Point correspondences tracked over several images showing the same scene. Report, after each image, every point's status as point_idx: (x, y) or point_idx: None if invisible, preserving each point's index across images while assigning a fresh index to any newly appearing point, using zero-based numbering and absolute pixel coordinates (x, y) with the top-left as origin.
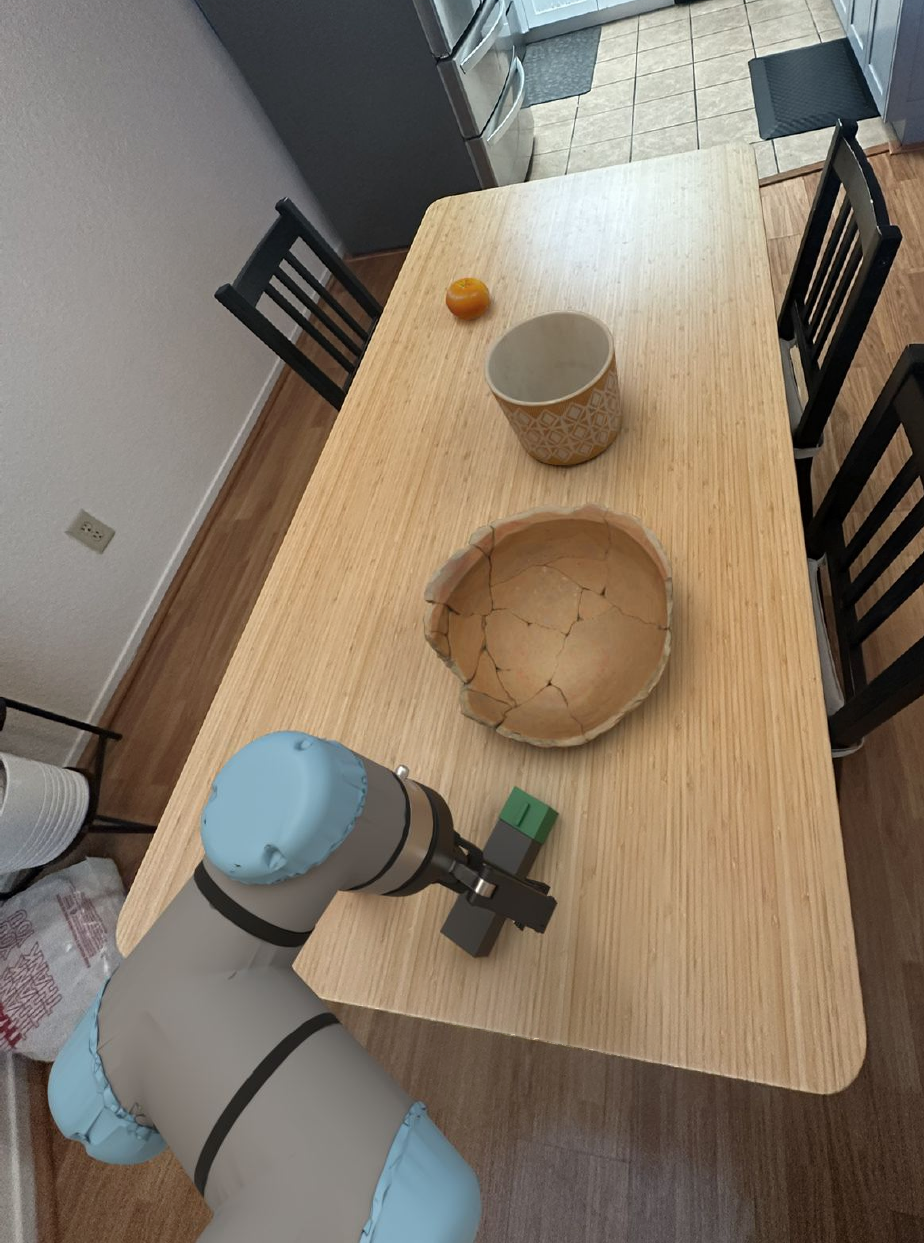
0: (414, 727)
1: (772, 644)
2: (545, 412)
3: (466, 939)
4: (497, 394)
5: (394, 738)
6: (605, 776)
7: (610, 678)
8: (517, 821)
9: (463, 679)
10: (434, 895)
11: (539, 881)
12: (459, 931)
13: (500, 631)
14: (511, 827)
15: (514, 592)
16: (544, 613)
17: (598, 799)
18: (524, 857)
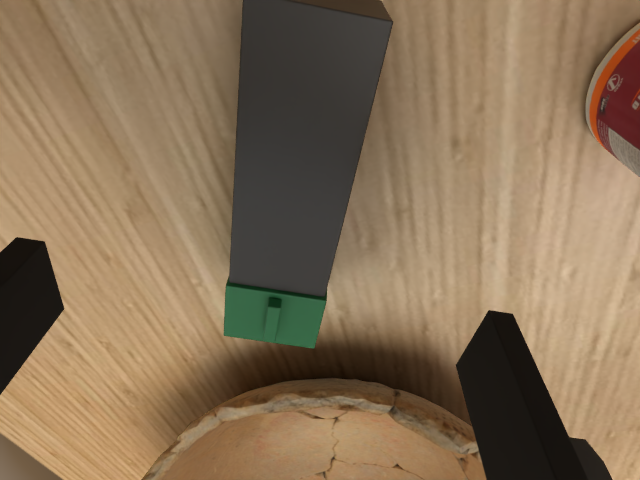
0: (589, 326)
1: (77, 463)
2: None
3: (293, 32)
4: None
5: (636, 305)
6: (192, 330)
7: (239, 440)
8: (271, 313)
9: None
10: (468, 63)
11: (26, 357)
12: (325, 45)
13: (440, 466)
14: (288, 288)
15: None
16: (377, 476)
17: (186, 304)
18: (231, 248)
